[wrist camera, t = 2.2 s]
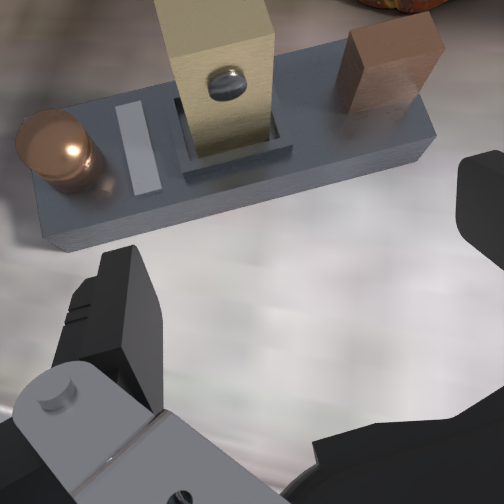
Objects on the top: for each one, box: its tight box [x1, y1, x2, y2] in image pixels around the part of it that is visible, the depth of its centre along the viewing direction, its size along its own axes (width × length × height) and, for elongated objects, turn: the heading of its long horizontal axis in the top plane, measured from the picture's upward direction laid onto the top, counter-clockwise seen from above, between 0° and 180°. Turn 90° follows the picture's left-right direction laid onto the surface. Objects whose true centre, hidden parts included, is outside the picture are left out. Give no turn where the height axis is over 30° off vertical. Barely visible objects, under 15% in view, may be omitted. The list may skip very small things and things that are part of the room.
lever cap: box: [154, 0, 275, 159], centre depth 22 cm, size 4×4×9 cm
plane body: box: [15, 11, 445, 253], centre depth 26 cm, size 24×8×8 cm, turn 105°
